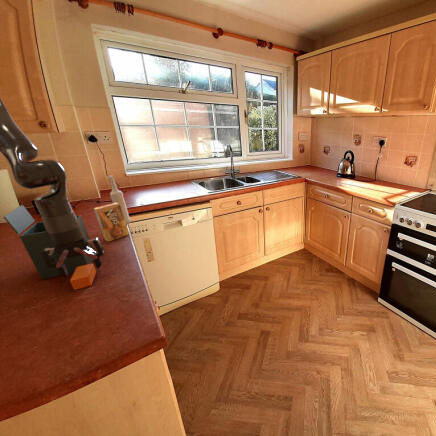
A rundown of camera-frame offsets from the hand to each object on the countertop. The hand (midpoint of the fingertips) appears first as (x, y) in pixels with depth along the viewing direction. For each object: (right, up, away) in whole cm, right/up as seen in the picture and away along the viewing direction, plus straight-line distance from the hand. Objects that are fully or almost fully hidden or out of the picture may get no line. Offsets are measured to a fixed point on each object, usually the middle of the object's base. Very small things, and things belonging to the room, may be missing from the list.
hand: (83, 271), depth 80 cm
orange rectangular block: (0, -3, +1) cm, 3 cm away
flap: (-20, +17, 0) cm, 27 cm away
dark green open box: (-13, 0, +10) cm, 17 cm away
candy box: (-11, +9, +31) cm, 34 cm away
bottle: (-18, +15, +47) cm, 53 cm away
